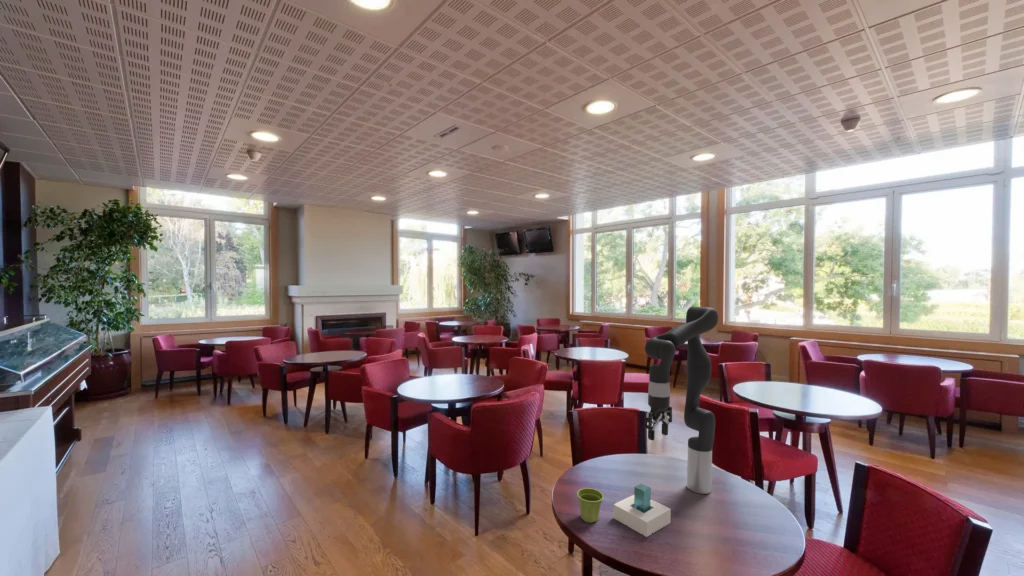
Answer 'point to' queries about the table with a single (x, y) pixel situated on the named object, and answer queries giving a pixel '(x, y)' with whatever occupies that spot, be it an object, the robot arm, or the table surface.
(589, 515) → the plant pot
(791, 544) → the table surface
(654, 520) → the well block
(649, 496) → the bracket post
